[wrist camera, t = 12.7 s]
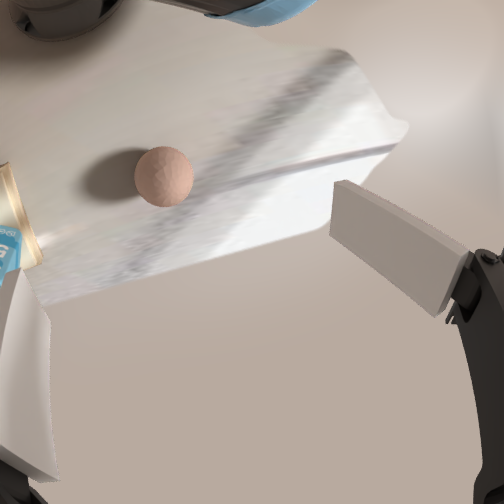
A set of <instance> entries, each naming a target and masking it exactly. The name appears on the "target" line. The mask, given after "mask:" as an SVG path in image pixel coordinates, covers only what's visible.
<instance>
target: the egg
mask: <svg viewBox="0 0 504 504" xmlns="http://www.w3.org/2000/svg"><path fill="white" fill-rule="evenodd" d="M134 179H135V184H136V188H137V190H138V192H139V193H140V195H141V196H142V197H143V198H144V199H145V200H146V201H147V202H149V203H151V204H152V205H155V206H159V207H170V206H173V205H176V204H178V203H180V202H181V201H183V200H184V199H185V198H186V197H187V195H188V194H189V192H190V190H191V187H192V185H193V179H194V176H193V170H192V166H191V164H190V162H189V160H188V159H187V158H186V156H185V155H184V154H183V153H181V152H180V151H178V150H177V149H174V148H171V147H162V146H161V147H156V148H153V149H151V150H149V151H148V152H146V153H145V154H144V155H143V156H142V157H141V158H140V159H139V161H138V163H137V165H136V168H135V175H134Z"/></svg>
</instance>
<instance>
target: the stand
mask: <svg viewBox="0 0 504 504" xmlns="http://www.w3.org/2000/svg"><path fill="white" fill-rule="evenodd" d="M0 225H3V226H8V227H12V228H16V229H18V230H19V231H20V232H21V233H22V245H21V258H20V267H22V269H23V271H24V270H27V269H29V268H32V267H34V266H37V265H40V264H41V263H42V259H43V254H42V252H41V249H40V247H39V245H38V243H37V240H36V238H35V235H34V233H33V231H32V228H31V226H30V223H29V221H28V218H27V215H26V213H25V210H24V207H23V204H22V202H21V199H20V196H19V193H18V190H17V187H16V184H15V180H14V177H13V174H12V170H11V167H10V163H9V162H8V163H6V164H4V165H1V166H0ZM20 267H19V268H20Z"/></svg>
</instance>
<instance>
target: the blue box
mask: <svg viewBox="0 0 504 504" xmlns="http://www.w3.org/2000/svg"><path fill="white" fill-rule="evenodd" d="M21 245H22V233H21V232H20V231H19V230H18V229H16V228H12V227H8V226H3V225H0V288H1V285H2V282H3V279H4V276H5V273H7V272H9V271H12V270H15V269H18V268H19V267H20V258H21Z"/></svg>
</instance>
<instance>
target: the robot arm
mask: <svg viewBox="0 0 504 504" xmlns="http://www.w3.org/2000/svg"><path fill="white" fill-rule="evenodd" d="M122 1H123V0H9V10H10V15H11V18H12V20H13V22H14V24H15V25H16V26H17V27H18V28H19V30H21V31H22V32H23V33H25V34H26V35H28V36H30V37H31V38H34V39H37V40H41V41H61V40H66V39H70V38H74V37H77V36H79V35H82V34H84V33H86V32H88V31H90V30H92V29H93V28H95V27H97V26H98V25H100V24H101V23H102V22H104V21H105V20H106V19H107V18H108V17H110V16H111V15H112V14H113V13H114V12H115V10H116V9H117V8H118V7H119V6H120V4H121V3H122ZM151 1H156V2H161V3H165V4H170V5H174V6H178V7H182V8H186V9H189V10H193V11H196V12H200V13H203V14H204V15H205V16H207V17H210V18H214V19H225V20H229V21H232V22H235V23H238V24H242V25H245V26H250V27H260V26H270V25H274V24H278V23H280V22H283V21H285V20H288V19H289V18H292V17H293V16H295V15H297V14H299V13H301V12H302V11H304V10H305V9H307V8H308V7H309V6H311V5H312V4H314V3H315V2H316V1H317V0H151ZM329 235H330V236H331V237H332V238H334V239H335V240H336V241H338V242H339V243H340V244H342V245H343V246H344V247H346V248H347V249H348V250H350V251H351V252H352V253H354V254H355V255H356V256H358V257H359V258H360V259H362V260H363V261H364V262H366V263H367V264H368V265H369V266H371V267H372V268H374V269H375V270H376V271H377V272H378V273H380V274H381V275H382V276H384V277H385V278H386V279H387V280H389V281H390V282H391V283H392V284H394V285H395V286H396V287H398V288H399V289H400V290H401V291H402V292H404V293H405V294H406V295H407V296H409V297H410V298H411V299H412V300H413V301H415V302H416V303H417V304H418V305H420V306H421V307H422V308H423V309H424V310H425V311H427V312H428V313H429V314H430V315H431V316H433V317H434V318H435V317H437V316H438V315H439V314H440V313H442V312H443V311H444V310H445V308H446V306H447V304H448V302H449V300H450V298H452V299H454V300H455V302H454V303H453V306H452V308H451V310H450V312H449V314H448V316H447V318H446V324H448V323H449V321H450V319H451V317H452V316H454V318H453V320H452V322H451V324H457V325H458V328H459V332H460V336H461V339H462V343H463V347H464V350H465V354H466V358H467V362H468V366H469V371H470V376H471V380H472V385H473V390H474V395H475V401H476V407H477V413H478V420H479V428H480V437H481V447H482V459H483V464H482V469H481V471H480V473H479V474H478V476H477V478H476V481H475V483H474V495H473V496H474V497H473V504H504V248H503V251H502V253H501V255H500V256H497V255H495V254H494V253H493V252H490V251H488V250H485V249H478V250H476V251H475V254H474V253H472V252H470V250H469V249H468V248H466V247H465V246H463V245H462V244H460V243H458V242H457V241H456V240H454V239H452V238H451V237H449V236H448V235H446V234H444V233H443V232H441V231H439V230H438V229H436V228H435V227H433V226H431V225H430V224H428V223H426V222H425V221H423V220H421V219H419V218H418V217H416V216H414V215H412V214H411V213H409V212H407V211H405V210H404V209H402V208H400V207H398V206H396V205H395V204H393V203H391V202H389V201H387V200H386V199H383V198H382V197H380V196H378V195H376V194H374V193H372V192H370V191H368V190H366V189H364V188H362V187H360V186H359V185H357V184H354V183H352V182H350V181H348V180H342V181H337V182H334V191H333V203H332V214H331V224H330V233H329ZM50 331H51V322H50V320H49V318H48V317H47V315H46V313H45V311H44V310H43V308H42V306H41V304H40V302H39V301H38V299H37V297H36V295H35V293H34V291H33V289H32V288H31V286H30V284H29V282H28V280H27V278H26V276H25V274H24V272H23V269H22V267H20V268H18V269H15V270H12V271H9V272H7V273H5V276H4V279H3V282H2V285H1V288H0V504H48V503H47V502H46V501H45V500H44V499H43V498H42V497H41V496H40V495H39V493H38V492H37V491H36V490H35V489H33V488H32V487H31V486H29V483H28V477H30V478H31V479H33V480H35V481H37V482H39V483H44V482H55V481H60V478H59V473H58V467H57V461H56V455H55V448H54V439H53V430H52V420H51V406H50V380H49V359H50V356H49V355H50Z"/></svg>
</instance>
